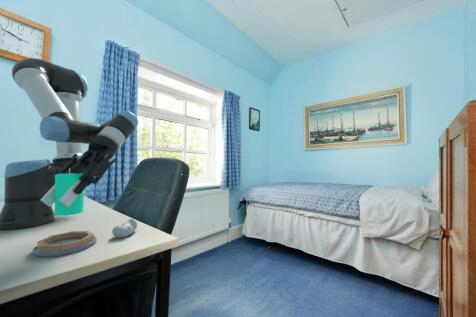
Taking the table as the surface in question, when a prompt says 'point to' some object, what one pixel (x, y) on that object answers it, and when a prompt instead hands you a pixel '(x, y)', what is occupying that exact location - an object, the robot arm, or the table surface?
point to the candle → (61, 188)
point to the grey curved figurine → (124, 229)
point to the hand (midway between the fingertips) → (54, 203)
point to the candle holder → (64, 244)
